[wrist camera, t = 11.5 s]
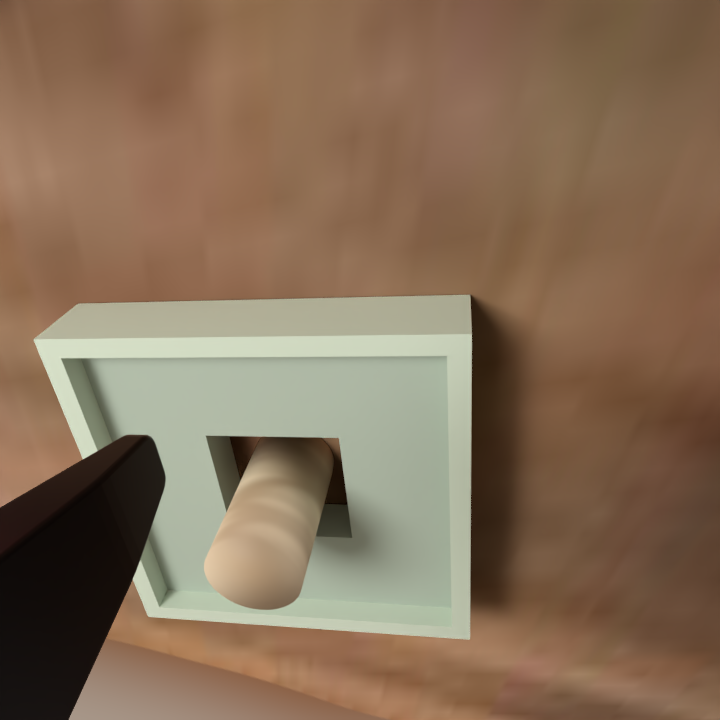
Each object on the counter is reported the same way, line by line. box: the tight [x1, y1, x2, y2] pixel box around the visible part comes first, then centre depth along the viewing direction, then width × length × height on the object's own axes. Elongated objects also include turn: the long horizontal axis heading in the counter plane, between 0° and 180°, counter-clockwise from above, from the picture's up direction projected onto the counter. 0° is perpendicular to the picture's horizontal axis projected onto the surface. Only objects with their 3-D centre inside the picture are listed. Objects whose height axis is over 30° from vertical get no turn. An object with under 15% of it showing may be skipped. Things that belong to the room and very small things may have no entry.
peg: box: [204, 437, 334, 610], centre depth 24 cm, size 4×4×6 cm
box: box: [33, 295, 472, 640], centre depth 26 cm, size 16×16×3 cm
